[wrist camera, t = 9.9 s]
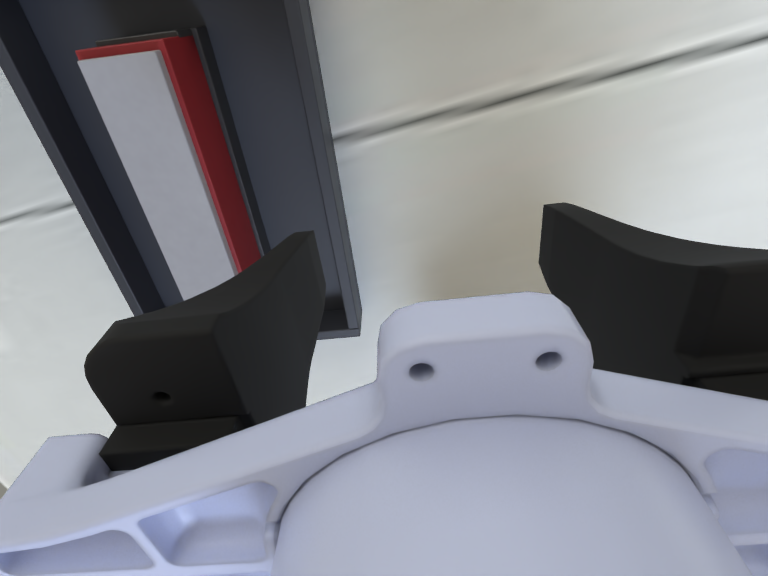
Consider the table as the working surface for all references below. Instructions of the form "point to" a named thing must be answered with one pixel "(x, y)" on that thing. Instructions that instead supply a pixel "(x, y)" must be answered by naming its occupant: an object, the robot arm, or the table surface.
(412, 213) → the table surface
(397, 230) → the table surface
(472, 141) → the table surface
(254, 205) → the red and grey slab
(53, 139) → the tray
